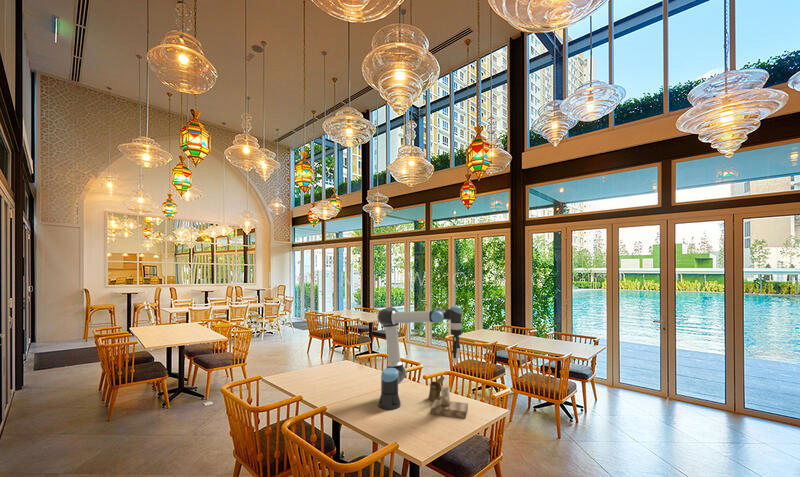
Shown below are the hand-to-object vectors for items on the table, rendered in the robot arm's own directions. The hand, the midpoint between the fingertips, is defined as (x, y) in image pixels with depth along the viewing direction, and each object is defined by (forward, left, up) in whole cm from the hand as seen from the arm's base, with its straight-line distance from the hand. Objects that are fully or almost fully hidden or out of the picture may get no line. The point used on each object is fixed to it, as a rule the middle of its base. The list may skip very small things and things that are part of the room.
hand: (456, 360), depth 244 cm
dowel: (-6, -10, -30) cm, 32 cm away
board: (-3, -10, -31) cm, 32 cm away
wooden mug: (-15, +8, -31) cm, 35 cm away
